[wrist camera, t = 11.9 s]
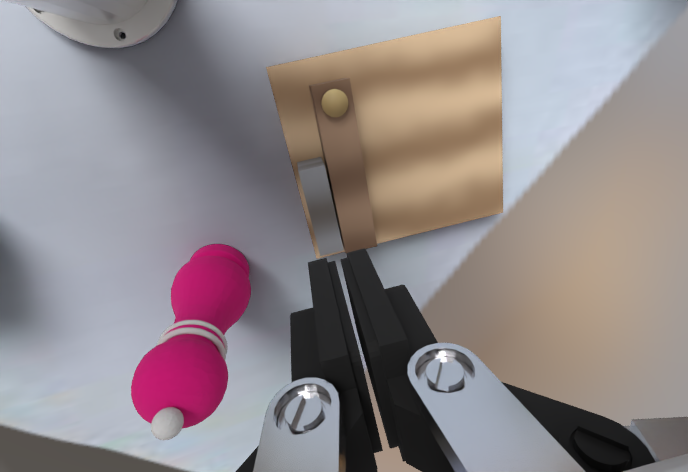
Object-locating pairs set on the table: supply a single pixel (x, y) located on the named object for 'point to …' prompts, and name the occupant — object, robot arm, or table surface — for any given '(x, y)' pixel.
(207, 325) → the pepper mill
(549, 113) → the table surface
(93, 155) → the table surface
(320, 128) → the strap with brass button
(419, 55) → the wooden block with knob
